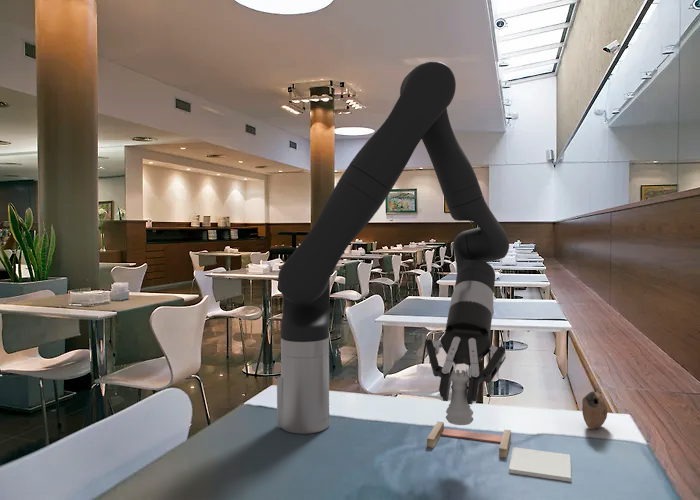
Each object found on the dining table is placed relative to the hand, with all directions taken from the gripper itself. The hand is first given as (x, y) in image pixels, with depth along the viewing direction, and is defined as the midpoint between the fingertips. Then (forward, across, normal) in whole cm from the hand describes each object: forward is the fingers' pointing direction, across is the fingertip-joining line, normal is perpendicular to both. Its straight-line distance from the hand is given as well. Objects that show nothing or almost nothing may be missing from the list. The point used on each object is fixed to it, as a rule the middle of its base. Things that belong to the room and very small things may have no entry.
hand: (457, 399), depth 86 cm
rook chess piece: (+2, 0, +4) cm, 5 cm away
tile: (+3, +13, +12) cm, 17 cm away
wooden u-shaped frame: (0, +1, +16) cm, 16 cm away
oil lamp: (-11, +22, +26) cm, 35 cm away
